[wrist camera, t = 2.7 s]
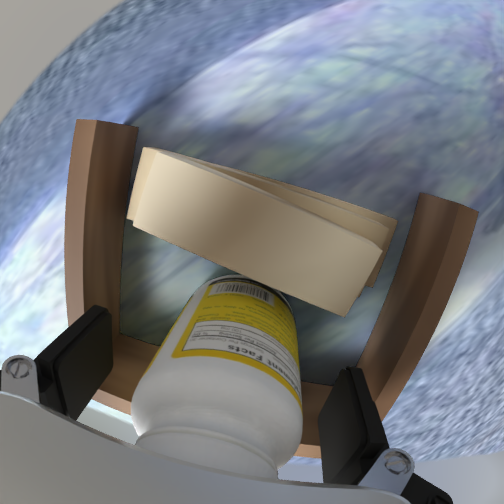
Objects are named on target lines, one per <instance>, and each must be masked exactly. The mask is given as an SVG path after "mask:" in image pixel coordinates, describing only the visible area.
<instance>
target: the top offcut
mask: <svg viewBox="0 0 504 504" xmlns="http://www.w3.org/2000/svg"><path fill="white" fill-rule="evenodd" d="M133 226H134V227H136V228H138V229H141V230H143V231H145V232H147V233H149V234H152V235H154V236H156V237H158V238H160V239H163V240H165V241H167V242H169V243H171V244H174V245H176V246H178V247H180V248H183V249H185V250H187V251H189V252H192V253H194V254H196V255H198V256H201V257H203V258H205V259H207V260H210V261H212V262H214V263H216V264H219V265H221V266H223V267H226V268H228V269H230V270H233V271H235V272H237V273H239V274H242V275H244V276H246V277H249V278H251V279H253V280H256V281H258V282H260V283H263V284H265V285H267V286H270V287H272V288H274V289H277V290H279V291H282V292H284V293H286V294H289V295H291V296H293V297H296V298H298V299H301V300H303V301H305V302H308V303H310V304H313V305H315V306H318V307H320V308H322V309H325V310H327V311H330V312H332V313H335V314H337V315H339V316H342V317H344V318H345V316H346V315H347V313H348V311H349V310H350V308H351V306H352V305H353V303H354V301H355V300H356V298H357V296H358V295H359V293H360V291H361V289H362V288H363V286H364V284H365V282H366V281H367V279H368V277H369V275H370V273H371V272H372V270H373V268H374V266H375V264H376V263H377V261H378V259H379V257H380V255H381V253H382V250H381V249H380V248H379V247H378V246H377V245H376V244H374V243H373V242H372V241H370V240H368V239H366V238H364V237H362V236H360V235H358V234H356V233H354V232H352V231H350V230H348V229H346V228H344V227H342V226H340V225H338V224H336V223H334V222H332V221H330V220H328V219H326V218H323V217H321V216H319V215H317V214H315V213H313V212H311V211H309V210H306V209H304V208H302V207H300V206H298V205H296V204H293V203H291V202H289V201H287V200H285V199H282V198H280V197H278V196H276V195H273V194H271V193H269V192H266V191H264V190H262V189H260V188H257V187H255V186H253V185H250V184H248V183H246V182H243V181H241V180H239V179H236V178H234V177H231V176H229V175H227V174H224V173H222V172H219V171H217V170H214V169H212V168H209V167H207V166H204V165H202V164H199V163H197V162H194V161H192V160H189V159H187V158H184V157H181V156H179V155H176V154H173V153H171V152H156V155H155V158H154V161H153V164H152V166H151V169H150V172H149V175H148V178H147V181H146V184H145V187H144V190H143V193H142V196H141V199H140V203H139V206H138V209H137V212H136V216H135V219H134V222H133Z"/></svg>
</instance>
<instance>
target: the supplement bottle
mask: <svg viewBox="0 0 504 504" xmlns="http://www.w3.org/2000/svg"><path fill="white" fill-rule="evenodd" d="M131 418H132V421H133V425H134V427H135V429H136V432H137V434H138V435H139V438H138V439H137V442H136V444H135V446H138V447H141V448H144V449H147V450H150V451H153V452H156V453H159V454H162V455H165V456H169V457H172V458H176V459H179V460H183V461H186V462H190V463H194V464H198V465H202V466H206V467H210V468H215V469H220V470H224V471H229V472H234V473H240V474H245V475H251V476H258V477H265V478H272V479H278V469H279V468H281V467H282V466H283V465H285V464H286V463H287V462H288V461H289V460H290V459H291V458H292V457H293V455H294V454H295V452H296V451H297V449H298V447H299V444H300V442H301V438H302V425H303V412H302V396H301V382H300V368H299V354H298V342H297V331H296V324H295V318H294V314H293V311H292V309H291V307H290V305H289V303H288V301H287V300H286V299H285V297H284V296H283V295H282V294H281V293H280V292H279V291H278V290H277V289H274V288H272V287H270V286H267V285H265V284H263V283H260V282H258V281H256V280H253V279H251V278H249V277H246V276H244V275H226V276H221V277H218V278H215V279H212V280H210V281H208V282H207V283H205V284H203V285H202V286H201V287H200V288H198V289H197V290H196V291H195V293H194V294H193V295H192V296H191V297H190V299H189V300H188V302H187V304H186V305H185V307H184V308H183V310H182V311H181V313H180V315H179V316H178V318H177V320H176V321H175V323H174V325H173V326H172V328H171V329H170V331H169V333H168V334H167V336H166V338H165V339H164V341H163V343H162V344H161V346H160V348H159V349H158V351H157V353H156V354H155V356H154V358H153V359H152V361H151V363H150V364H149V366H148V368H147V369H146V371H145V373H144V374H143V376H142V378H141V379H140V381H139V383H138V386H137V388H136V389H135V392H134V394H133V397H132V402H131Z"/></svg>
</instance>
